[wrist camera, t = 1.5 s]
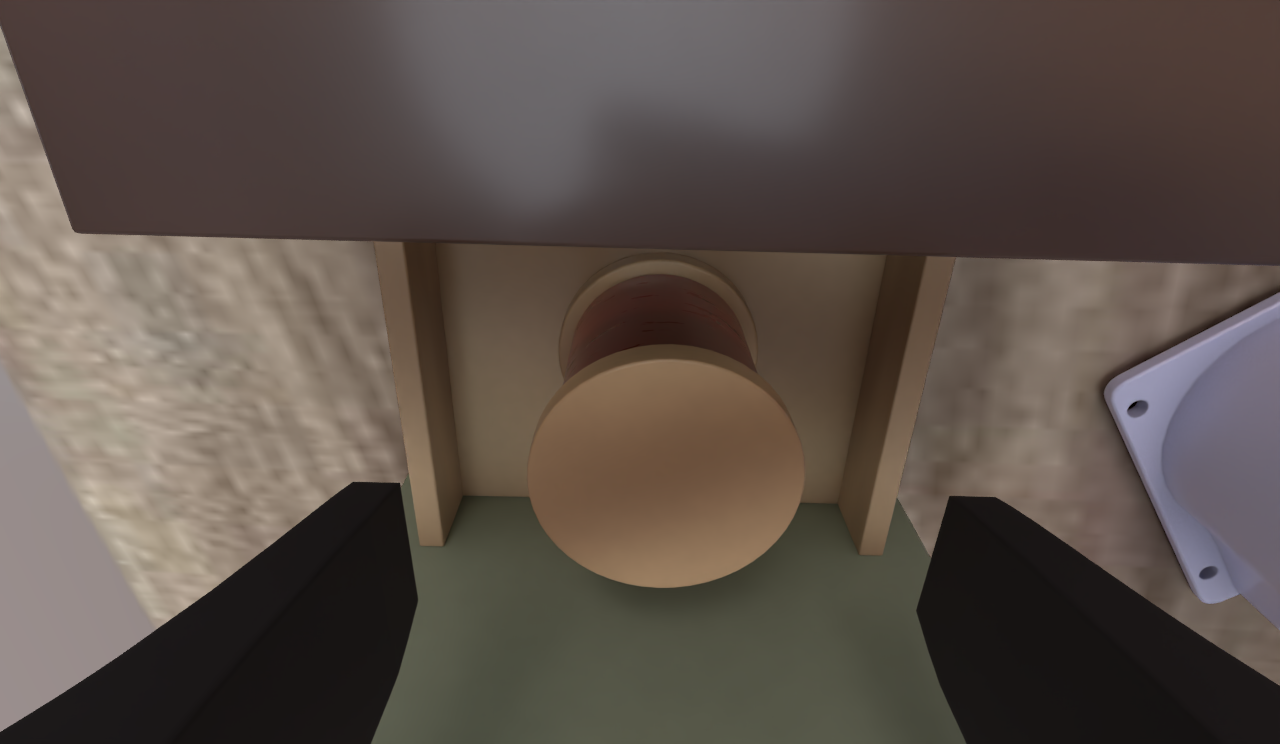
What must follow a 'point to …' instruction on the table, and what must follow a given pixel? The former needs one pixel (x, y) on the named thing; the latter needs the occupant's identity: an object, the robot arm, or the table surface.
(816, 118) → the cabinet
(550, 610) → the drawer
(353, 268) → the table surface
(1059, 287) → the table surface
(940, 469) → the table surface
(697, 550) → the spool
